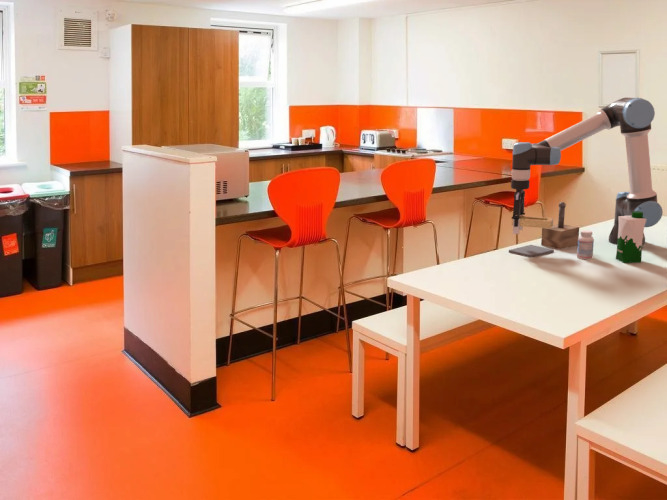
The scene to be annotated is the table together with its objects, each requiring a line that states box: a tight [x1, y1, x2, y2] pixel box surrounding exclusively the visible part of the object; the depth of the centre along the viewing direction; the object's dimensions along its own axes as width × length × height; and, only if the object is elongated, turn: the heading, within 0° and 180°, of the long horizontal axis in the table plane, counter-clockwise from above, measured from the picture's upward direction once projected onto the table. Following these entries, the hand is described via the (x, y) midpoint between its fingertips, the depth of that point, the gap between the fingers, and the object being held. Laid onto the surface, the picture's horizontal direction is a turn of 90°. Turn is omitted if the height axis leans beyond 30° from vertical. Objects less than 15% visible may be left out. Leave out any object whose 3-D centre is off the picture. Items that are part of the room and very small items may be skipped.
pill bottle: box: [576, 229, 595, 260], centre depth 277 cm, size 6×6×11 cm
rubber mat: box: [508, 244, 555, 259], centre depth 289 cm, size 12×15×1 cm
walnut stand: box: [540, 201, 580, 250], centre depth 298 cm, size 10×13×20 cm
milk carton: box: [615, 211, 646, 264], centre depth 270 cm, size 9×9×20 cm
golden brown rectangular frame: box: [511, 215, 554, 229], centre depth 285 cm, size 8×16×3 cm, turn 66°
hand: (517, 231), depth 289 cm, fingers closed on golden brown rectangular frame, 8 cm apart
